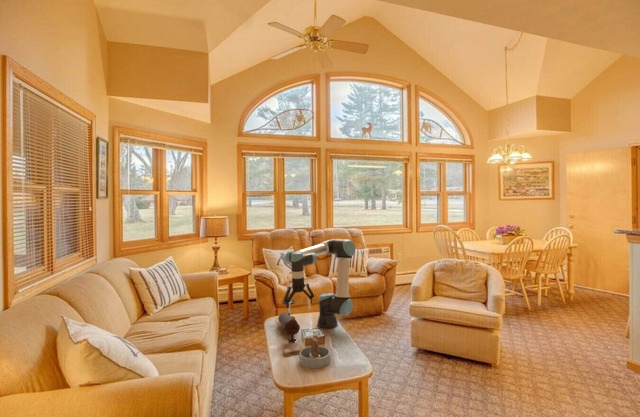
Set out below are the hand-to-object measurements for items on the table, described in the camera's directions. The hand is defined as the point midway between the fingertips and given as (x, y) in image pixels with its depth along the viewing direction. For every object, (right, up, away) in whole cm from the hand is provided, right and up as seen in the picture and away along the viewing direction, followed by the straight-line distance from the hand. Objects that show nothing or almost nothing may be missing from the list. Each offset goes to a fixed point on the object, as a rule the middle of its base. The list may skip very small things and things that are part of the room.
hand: (299, 310), depth 211 cm
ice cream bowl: (-6, -25, +14) cm, 29 cm away
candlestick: (-12, -24, +56) cm, 62 cm away
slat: (-4, -25, -4) cm, 26 cm away
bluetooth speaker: (-11, -25, +34) cm, 43 cm away
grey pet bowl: (+10, -24, -15) cm, 30 cm away
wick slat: (+10, -24, -15) cm, 30 cm away
